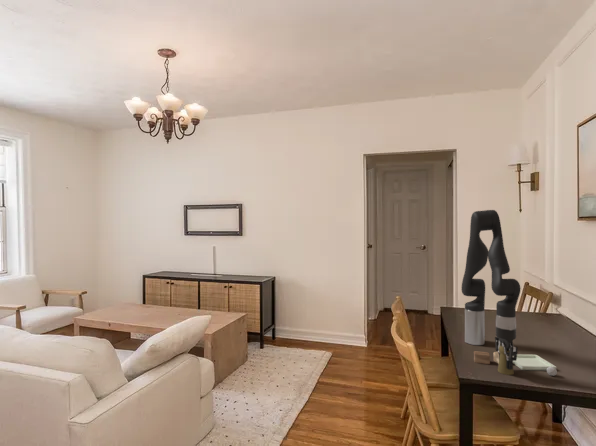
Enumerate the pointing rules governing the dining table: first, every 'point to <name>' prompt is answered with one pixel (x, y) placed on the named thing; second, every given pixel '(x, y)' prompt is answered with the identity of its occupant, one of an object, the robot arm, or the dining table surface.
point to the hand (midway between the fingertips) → (505, 366)
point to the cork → (503, 363)
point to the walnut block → (481, 357)
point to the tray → (532, 362)
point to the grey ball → (551, 371)
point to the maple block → (496, 357)
